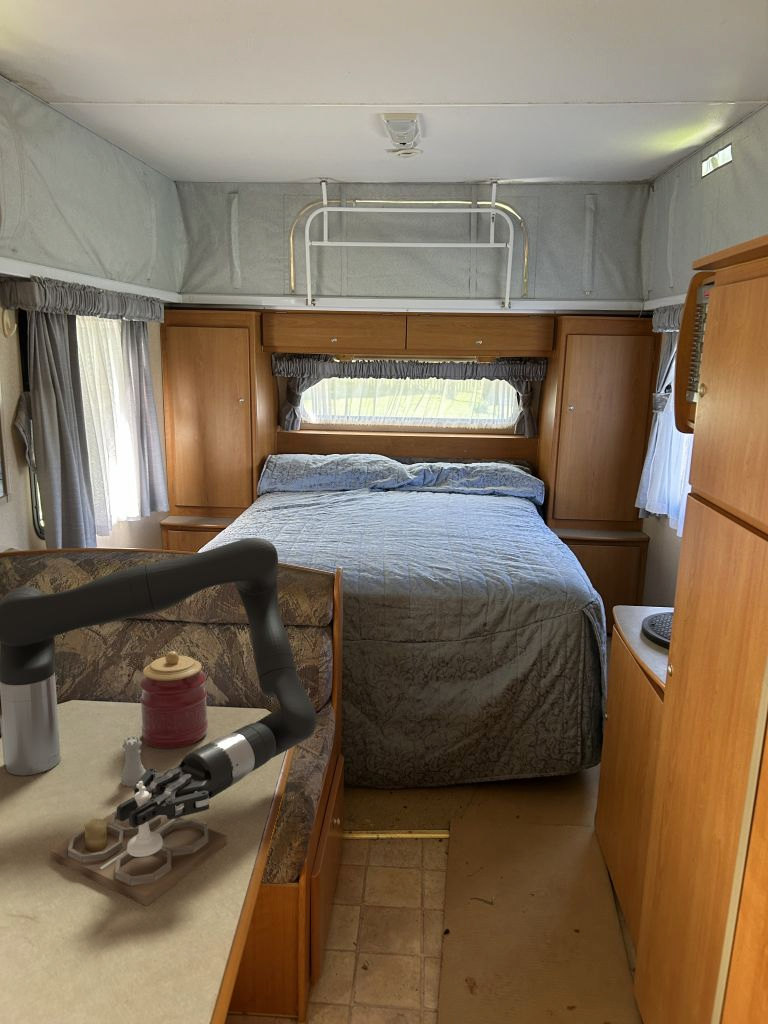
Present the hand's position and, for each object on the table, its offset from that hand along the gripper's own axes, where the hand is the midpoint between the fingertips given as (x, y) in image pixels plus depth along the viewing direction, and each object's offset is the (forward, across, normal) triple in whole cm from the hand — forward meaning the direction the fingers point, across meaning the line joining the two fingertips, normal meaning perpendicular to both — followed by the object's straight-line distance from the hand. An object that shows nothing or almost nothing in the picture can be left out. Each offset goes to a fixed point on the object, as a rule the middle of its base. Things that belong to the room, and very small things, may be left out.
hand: (125, 817), depth 103 cm
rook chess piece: (-18, -24, +11) cm, 32 cm away
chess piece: (-3, 0, +6) cm, 7 cm away
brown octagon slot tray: (-6, -6, +11) cm, 13 cm away
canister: (-35, -32, +11) cm, 49 cm away
